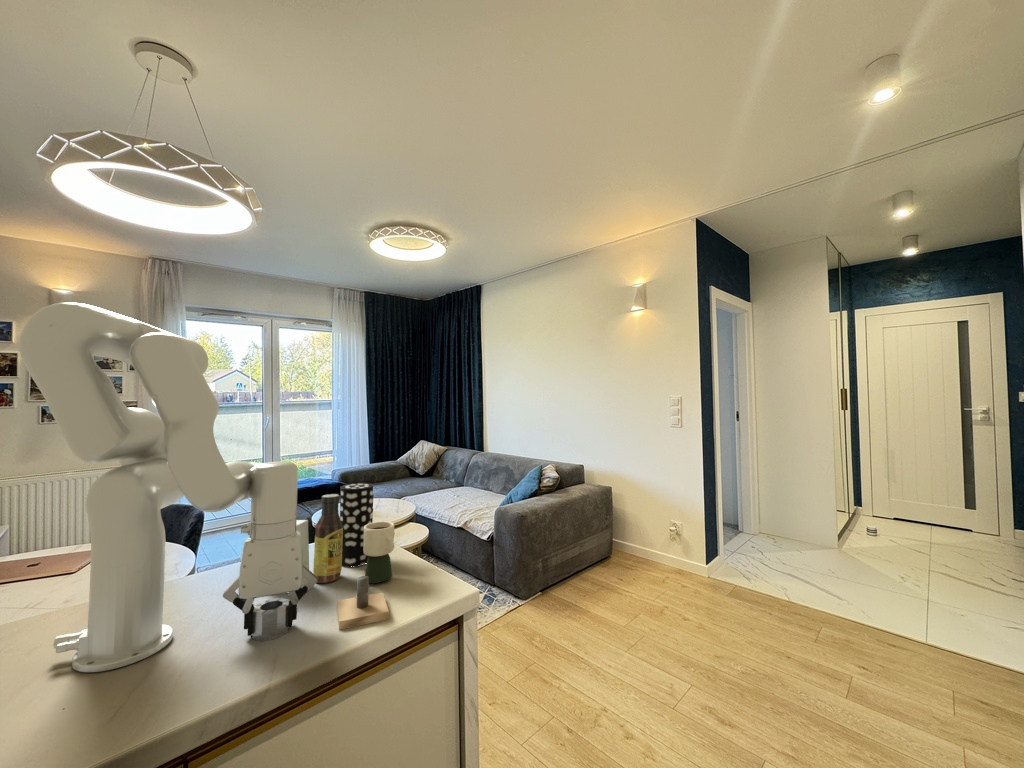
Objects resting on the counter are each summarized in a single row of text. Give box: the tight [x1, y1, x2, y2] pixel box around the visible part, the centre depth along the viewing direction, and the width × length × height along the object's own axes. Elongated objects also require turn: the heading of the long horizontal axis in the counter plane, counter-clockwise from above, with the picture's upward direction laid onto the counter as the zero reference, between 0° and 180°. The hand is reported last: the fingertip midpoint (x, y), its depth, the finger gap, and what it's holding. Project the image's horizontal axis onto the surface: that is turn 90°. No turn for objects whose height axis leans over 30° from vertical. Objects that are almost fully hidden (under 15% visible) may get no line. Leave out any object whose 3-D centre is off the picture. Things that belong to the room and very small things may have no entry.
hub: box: [251, 597, 290, 642], centre depth 77 cm, size 6×6×5 cm
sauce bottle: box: [312, 493, 343, 584], centre depth 100 cm, size 6×6×20 cm
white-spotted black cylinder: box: [339, 482, 374, 568], centre depth 111 cm, size 8×8×20 cm
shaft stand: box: [336, 575, 390, 631], centre depth 83 cm, size 9×9×7 cm
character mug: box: [363, 521, 396, 584], centre depth 99 cm, size 11×7×13 cm, turn 51°
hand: (271, 626), depth 76 cm, fingers closed on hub, 5 cm apart
